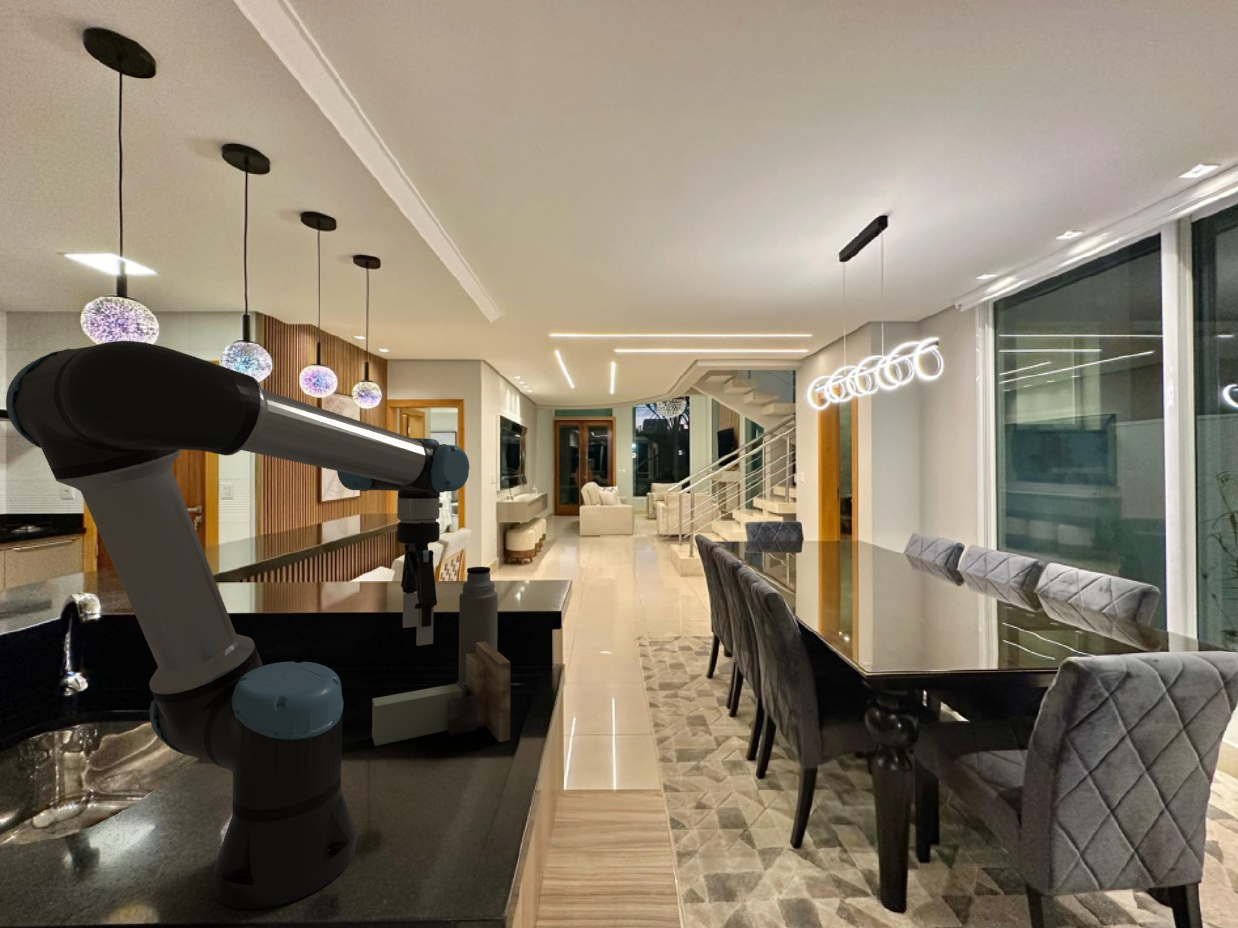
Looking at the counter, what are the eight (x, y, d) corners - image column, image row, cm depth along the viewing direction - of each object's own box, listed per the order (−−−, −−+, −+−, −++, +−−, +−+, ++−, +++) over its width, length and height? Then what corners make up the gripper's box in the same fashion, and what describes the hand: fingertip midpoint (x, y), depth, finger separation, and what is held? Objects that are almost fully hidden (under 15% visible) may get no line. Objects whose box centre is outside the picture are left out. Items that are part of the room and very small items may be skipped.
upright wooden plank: (460, 751, 100) (460, 670, 101) (438, 717, 114) (439, 646, 115) (509, 739, 105) (510, 662, 105) (483, 708, 119) (484, 639, 119)
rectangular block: (375, 746, 102) (375, 704, 102) (371, 736, 106) (372, 695, 106) (465, 726, 110) (465, 687, 110) (459, 718, 114) (459, 680, 114)
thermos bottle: (478, 688, 130) (479, 563, 130) (504, 696, 125) (505, 566, 126) (450, 700, 123) (451, 568, 123) (477, 709, 119) (478, 571, 119)
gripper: (456, 525, 100) (454, 649, 99) (425, 516, 121) (424, 618, 121) (410, 526, 96) (408, 656, 95) (387, 517, 117) (385, 622, 117)
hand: (417, 635), depth 108 cm, fingers open, 13 cm apart
